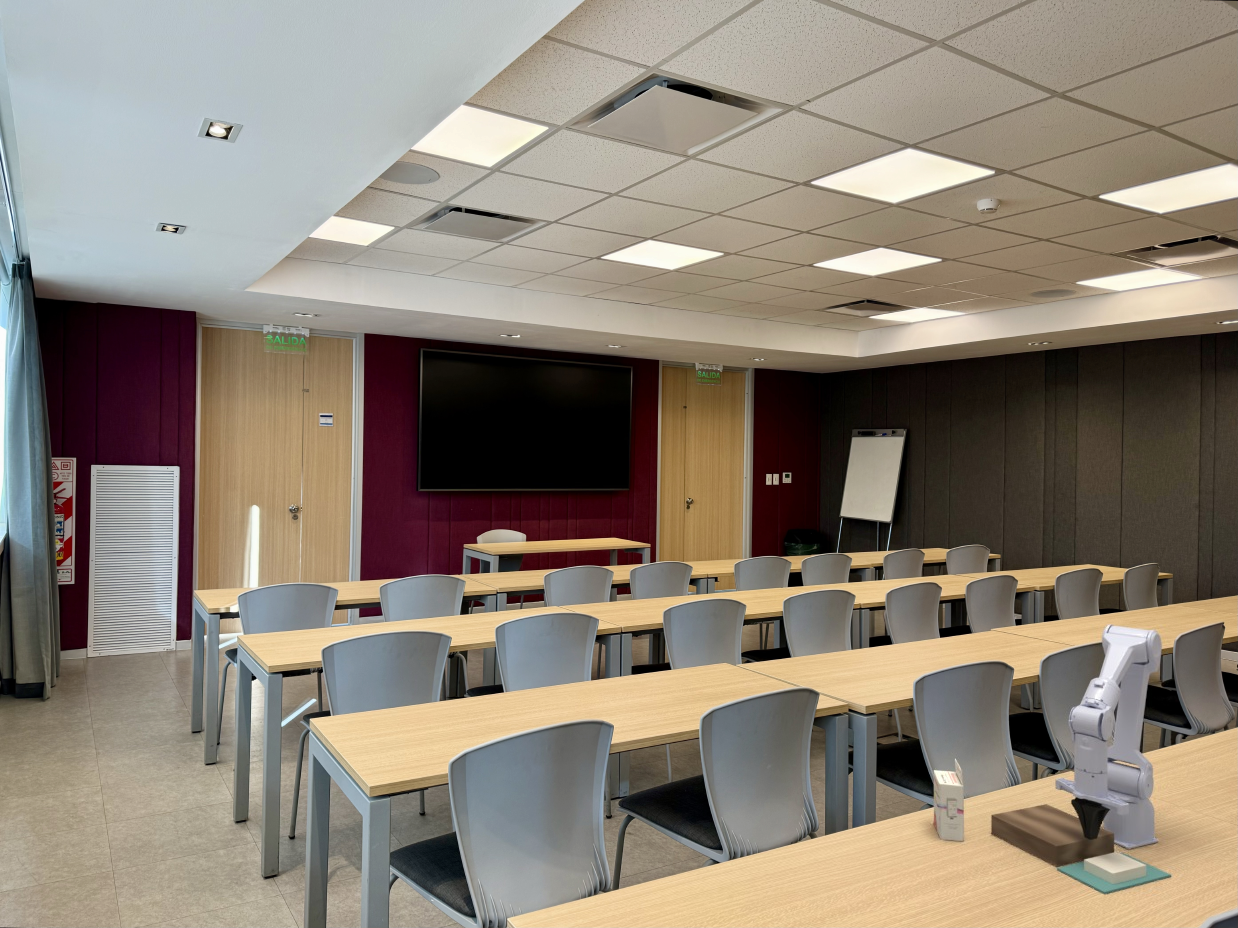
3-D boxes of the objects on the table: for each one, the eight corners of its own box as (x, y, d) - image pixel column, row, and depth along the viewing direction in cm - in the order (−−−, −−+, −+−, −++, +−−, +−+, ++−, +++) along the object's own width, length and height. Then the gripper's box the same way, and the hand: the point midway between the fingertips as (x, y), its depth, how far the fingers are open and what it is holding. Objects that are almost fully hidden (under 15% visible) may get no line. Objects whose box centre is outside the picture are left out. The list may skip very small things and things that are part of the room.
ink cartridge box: (932, 823, 182) (932, 755, 182) (956, 825, 181) (956, 757, 181) (939, 839, 173) (939, 768, 174) (964, 842, 172) (964, 770, 173)
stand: (1046, 822, 182) (1046, 803, 182) (1114, 853, 168) (1114, 833, 168) (991, 833, 176) (991, 814, 176) (1056, 866, 162) (1056, 846, 162)
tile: (1146, 865, 157) (1146, 875, 157) (1116, 851, 163) (1116, 861, 163) (1113, 873, 154) (1113, 884, 154) (1084, 859, 160) (1084, 869, 159)
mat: (1121, 854, 167) (1121, 852, 167) (1171, 876, 158) (1171, 874, 158) (1056, 869, 160) (1056, 867, 160) (1104, 894, 151) (1104, 891, 151)
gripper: (1044, 759, 169) (1044, 826, 169) (1110, 783, 156) (1111, 856, 155) (1069, 754, 172) (1069, 820, 172) (1136, 778, 158) (1136, 850, 158)
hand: (1090, 837), depth 164 cm, fingers closed
